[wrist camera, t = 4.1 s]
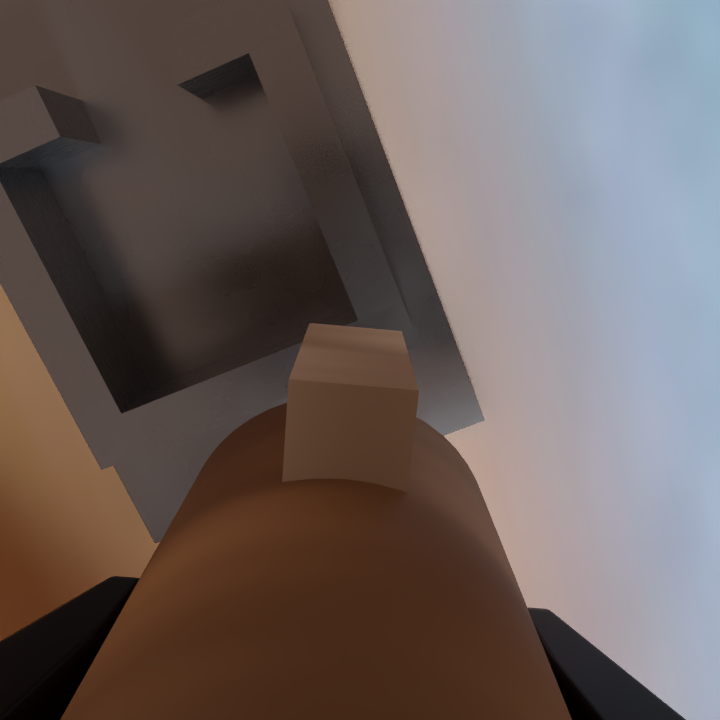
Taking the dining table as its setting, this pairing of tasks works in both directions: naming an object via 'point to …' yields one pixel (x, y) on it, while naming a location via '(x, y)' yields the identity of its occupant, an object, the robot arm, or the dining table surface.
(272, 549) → the knob
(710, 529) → the dining table surface
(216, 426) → the base plate
